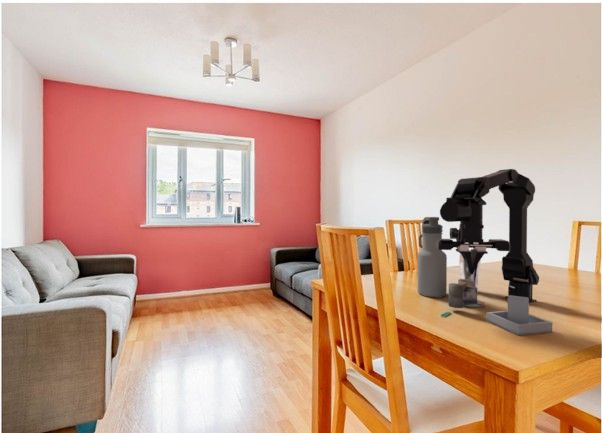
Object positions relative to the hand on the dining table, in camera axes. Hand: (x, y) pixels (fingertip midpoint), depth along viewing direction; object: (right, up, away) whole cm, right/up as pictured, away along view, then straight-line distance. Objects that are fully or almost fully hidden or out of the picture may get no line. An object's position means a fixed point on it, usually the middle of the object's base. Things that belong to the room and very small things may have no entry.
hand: (470, 273), depth 93 cm
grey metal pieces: (-1, -12, +7) cm, 14 cm away
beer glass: (+13, -11, +26) cm, 31 cm away
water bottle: (-2, -12, +22) cm, 25 cm away
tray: (+7, -12, -9) cm, 17 cm away
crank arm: (+1, -10, +7) cm, 13 cm away
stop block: (+7, -12, -9) cm, 17 cm away
